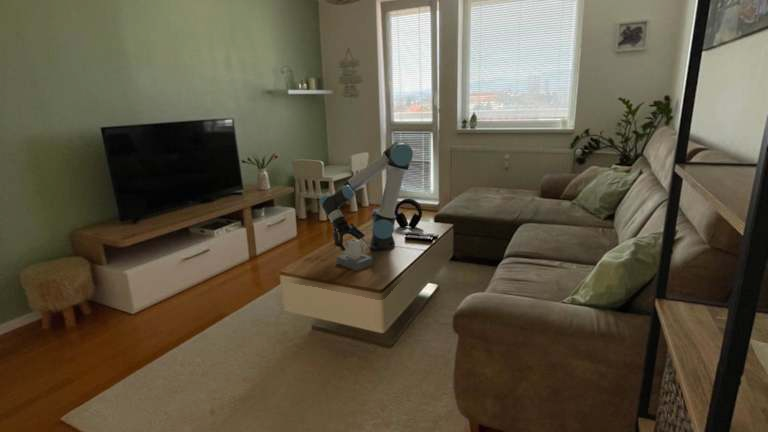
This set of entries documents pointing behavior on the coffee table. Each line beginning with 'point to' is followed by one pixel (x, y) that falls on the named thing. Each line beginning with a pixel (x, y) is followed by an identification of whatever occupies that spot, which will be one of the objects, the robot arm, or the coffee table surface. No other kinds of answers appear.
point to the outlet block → (355, 262)
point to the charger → (354, 249)
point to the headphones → (401, 217)
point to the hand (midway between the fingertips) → (357, 252)
